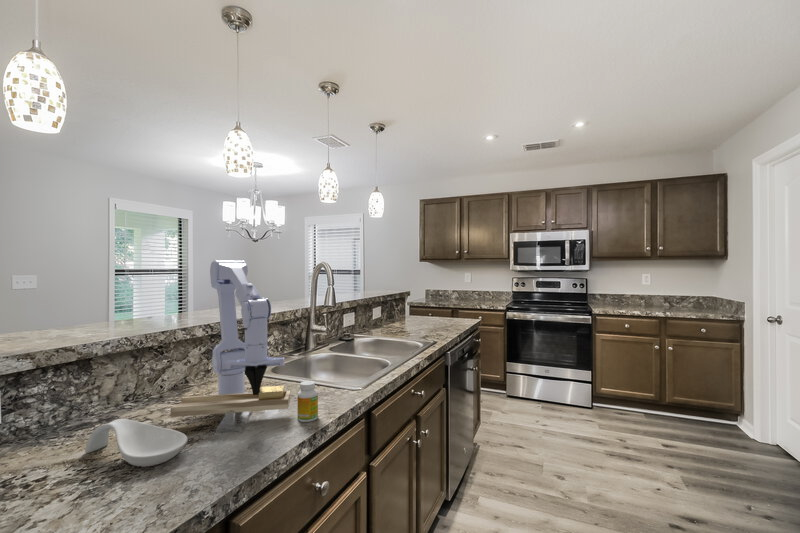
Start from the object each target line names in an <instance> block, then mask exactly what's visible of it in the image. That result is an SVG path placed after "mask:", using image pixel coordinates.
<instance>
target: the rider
mask: <svg viewBox="0 0 800 533" xmlns="http://www.w3.org/2000/svg"><path fill="white" fill-rule="evenodd" d="M284 390H285V385H275V386H274V385H272V386H271V385H270V386H261V387H260V391H259V400H270V399H284Z"/></svg>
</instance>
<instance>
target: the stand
mask: <svg viewBox="0 0 800 533" xmlns="http://www.w3.org/2000/svg"><path fill="white" fill-rule="evenodd" d="M251 414H252V411H249V412H235V411H227V412H226V413H224V417H223V419H222V420H221V421H220V423H219V425H218V426H217V427H216V429H215V432H216V434H220V433H230V432H233V433H234V432H241V431H243V429H244V428H245V426H246V424H247V421H248V419H249V418H250V416H251Z"/></svg>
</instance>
